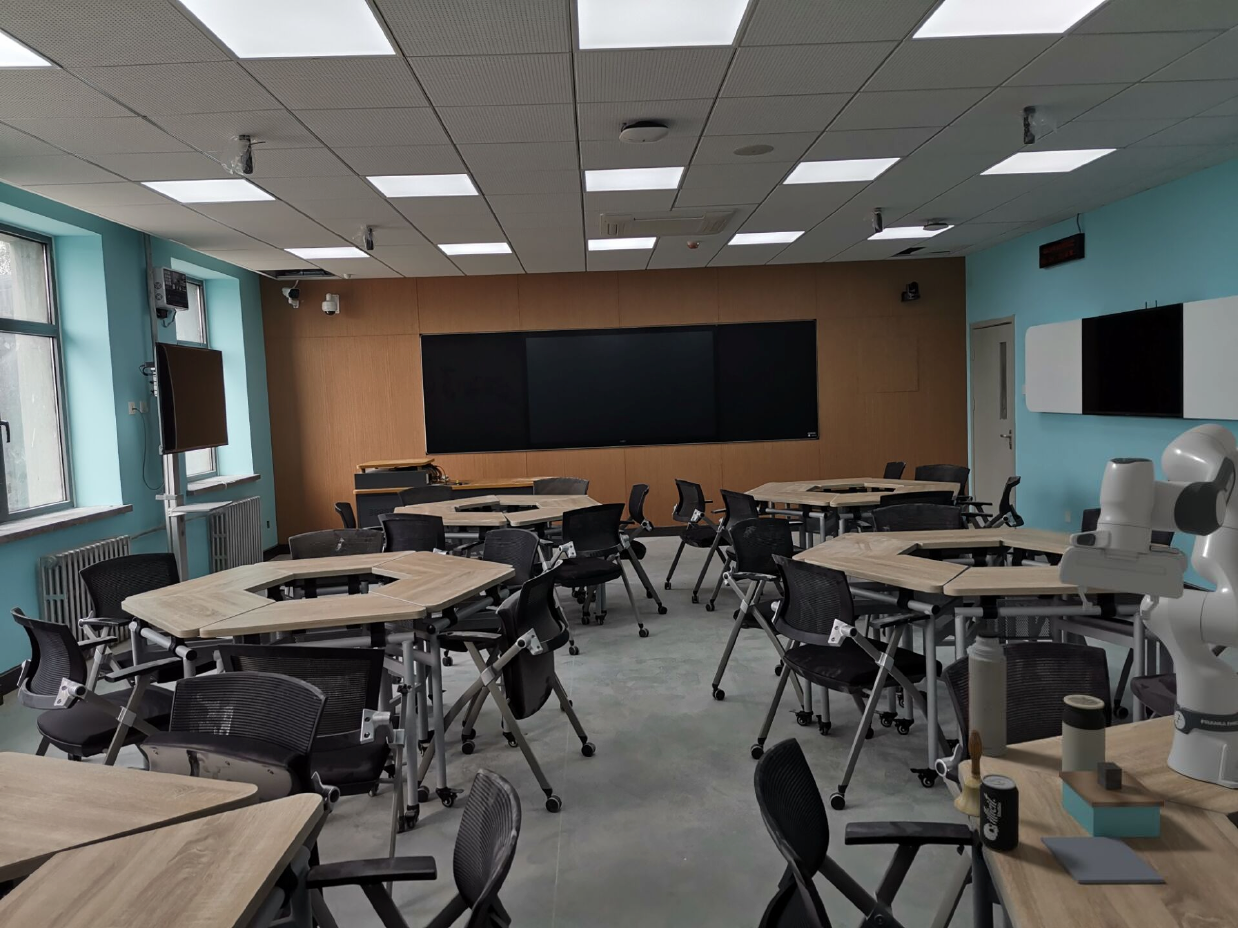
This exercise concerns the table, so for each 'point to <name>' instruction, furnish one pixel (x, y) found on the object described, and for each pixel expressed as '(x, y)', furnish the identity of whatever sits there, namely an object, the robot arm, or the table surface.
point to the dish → (1111, 817)
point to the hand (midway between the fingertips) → (1115, 615)
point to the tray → (1100, 860)
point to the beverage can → (999, 812)
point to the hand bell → (972, 780)
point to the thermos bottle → (988, 692)
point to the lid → (1110, 787)
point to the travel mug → (1083, 733)
